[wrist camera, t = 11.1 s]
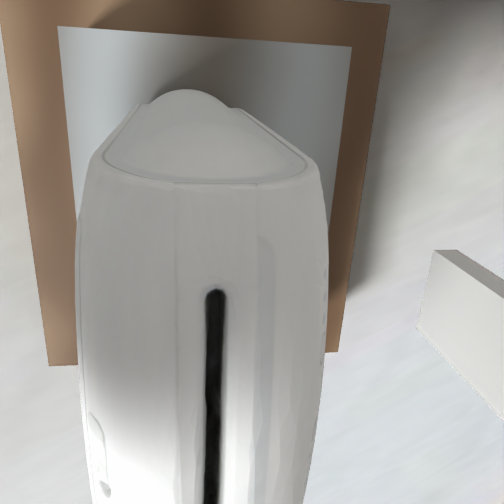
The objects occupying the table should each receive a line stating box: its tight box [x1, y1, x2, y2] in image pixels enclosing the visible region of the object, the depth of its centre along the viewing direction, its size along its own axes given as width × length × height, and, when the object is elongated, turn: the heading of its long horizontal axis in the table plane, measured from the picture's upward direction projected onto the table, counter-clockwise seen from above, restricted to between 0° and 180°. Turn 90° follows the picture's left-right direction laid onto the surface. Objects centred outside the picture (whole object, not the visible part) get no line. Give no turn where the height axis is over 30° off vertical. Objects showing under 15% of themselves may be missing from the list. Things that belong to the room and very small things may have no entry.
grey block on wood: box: [0, 0, 390, 366], centre depth 21 cm, size 16×18×8 cm
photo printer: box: [75, 89, 329, 504], centre depth 12 cm, size 10×4×12 cm, turn 176°
